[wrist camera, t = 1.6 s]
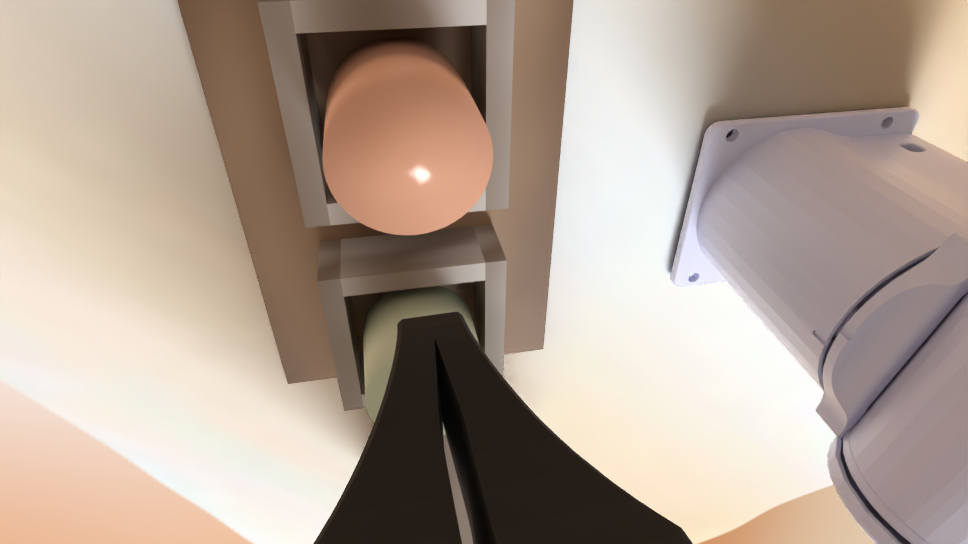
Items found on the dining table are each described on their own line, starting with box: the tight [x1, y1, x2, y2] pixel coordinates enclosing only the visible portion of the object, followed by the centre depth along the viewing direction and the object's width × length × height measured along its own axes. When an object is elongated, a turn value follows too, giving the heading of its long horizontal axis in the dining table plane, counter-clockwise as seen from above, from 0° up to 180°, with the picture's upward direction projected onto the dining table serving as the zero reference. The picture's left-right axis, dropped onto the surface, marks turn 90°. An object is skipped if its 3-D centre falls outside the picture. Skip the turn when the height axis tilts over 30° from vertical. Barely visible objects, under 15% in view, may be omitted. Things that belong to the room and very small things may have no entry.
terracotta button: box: [322, 37, 493, 235], centre depth 16 cm, size 4×4×4 cm
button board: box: [178, 0, 573, 411], centre depth 18 cm, size 12×26×3 cm, turn 179°
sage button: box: [363, 286, 479, 435], centre depth 22 cm, size 4×4×4 cm
